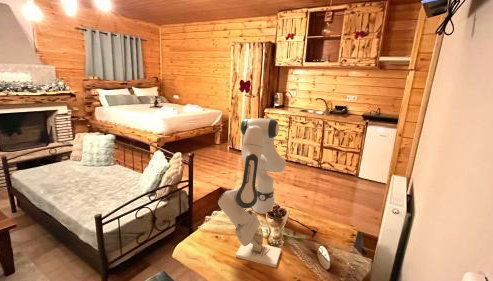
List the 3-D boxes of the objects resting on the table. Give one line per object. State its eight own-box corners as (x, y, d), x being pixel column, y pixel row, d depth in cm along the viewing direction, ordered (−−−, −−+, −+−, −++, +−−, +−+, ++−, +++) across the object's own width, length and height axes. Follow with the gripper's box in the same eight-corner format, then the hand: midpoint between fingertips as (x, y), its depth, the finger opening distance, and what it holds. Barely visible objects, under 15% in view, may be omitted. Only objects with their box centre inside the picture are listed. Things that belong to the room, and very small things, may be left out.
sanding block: (254, 247, 131) (255, 231, 129) (262, 249, 130) (263, 233, 128) (251, 252, 127) (252, 236, 125) (260, 254, 125) (261, 238, 124)
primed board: (244, 242, 137) (244, 239, 137) (281, 251, 131) (281, 248, 131) (235, 256, 125) (235, 254, 125) (275, 267, 119) (276, 264, 119)
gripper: (238, 227, 118) (258, 251, 117) (251, 208, 137) (268, 229, 136) (229, 233, 120) (248, 257, 119) (243, 214, 139) (259, 234, 138)
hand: (259, 242), depth 127 cm, fingers open, 5 cm apart
